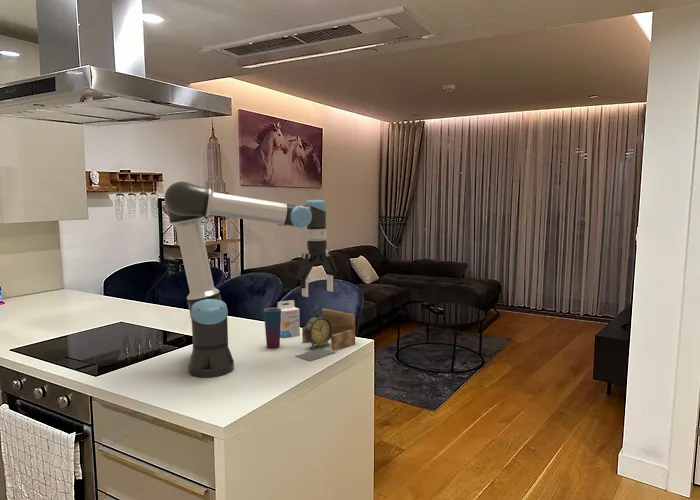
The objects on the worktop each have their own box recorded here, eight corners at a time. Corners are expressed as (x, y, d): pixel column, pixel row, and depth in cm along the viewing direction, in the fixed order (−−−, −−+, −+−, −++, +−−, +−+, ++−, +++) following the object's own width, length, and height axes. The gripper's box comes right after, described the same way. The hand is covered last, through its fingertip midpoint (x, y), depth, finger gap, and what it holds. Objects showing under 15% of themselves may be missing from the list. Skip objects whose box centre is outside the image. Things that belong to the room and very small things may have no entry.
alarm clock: (311, 351, 189) (310, 309, 187) (302, 347, 193) (302, 307, 191) (332, 345, 196) (332, 305, 194) (324, 342, 200) (323, 303, 198)
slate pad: (310, 361, 176) (310, 360, 176) (295, 356, 182) (295, 355, 181) (335, 353, 186) (335, 352, 186) (320, 348, 191) (320, 347, 191)
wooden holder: (334, 351, 188) (333, 320, 187) (302, 342, 200) (302, 313, 199) (355, 344, 197) (355, 314, 196) (324, 335, 209) (323, 308, 208)
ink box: (282, 338, 206) (281, 303, 205) (277, 335, 210) (276, 301, 209) (300, 335, 211) (299, 301, 209) (295, 332, 215) (294, 299, 213)
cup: (285, 346, 195) (284, 309, 193) (273, 350, 189) (272, 312, 188) (272, 343, 199) (272, 307, 197) (260, 347, 193) (260, 310, 192)
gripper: (299, 242, 178) (300, 300, 180) (345, 238, 197) (346, 290, 199) (285, 241, 183) (287, 297, 186) (332, 237, 202) (333, 288, 204)
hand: (317, 293), depth 192 cm, fingers open, 13 cm apart
